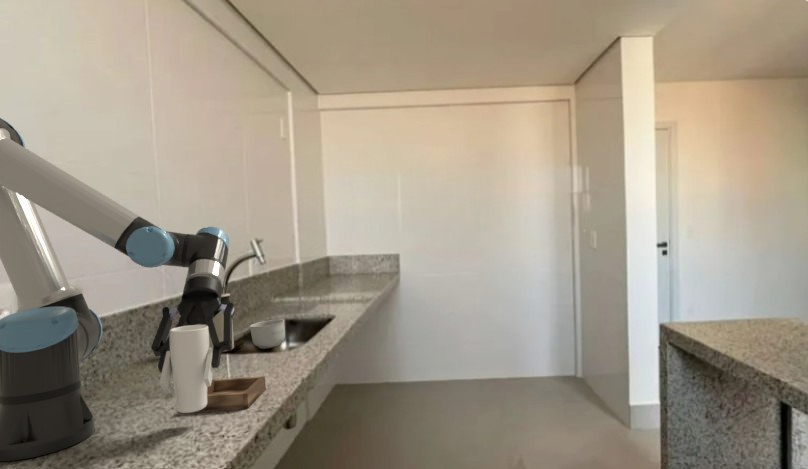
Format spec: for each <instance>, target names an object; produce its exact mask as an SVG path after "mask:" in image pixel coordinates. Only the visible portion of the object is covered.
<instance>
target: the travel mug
mask: <svg viewBox="0 0 808 469" xmlns="http://www.w3.org/2000/svg"><path fill="white" fill-rule="evenodd" d="M230 296H231V293H222V296H221V304H224V305H227V304H228V303H232V302H231V301H230ZM233 322H234V321H233V320H232V349H231V350H225V351H223V352H222V353H225V352H230V351H232V350H233V349H234V348H235V340H234V339H235V338H234V324H233ZM213 323H214V326H215V329H216V333H217V336H218V339H219V342H222V341H223V334H224V315H223V313H222V311H220V312H219V313H218V314H217V315H216V316H215V317H214V318H213ZM205 325H207V324H205ZM209 344H210V348H211V347H213V344H212V340H211V337H210V333H209Z"/></svg>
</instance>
